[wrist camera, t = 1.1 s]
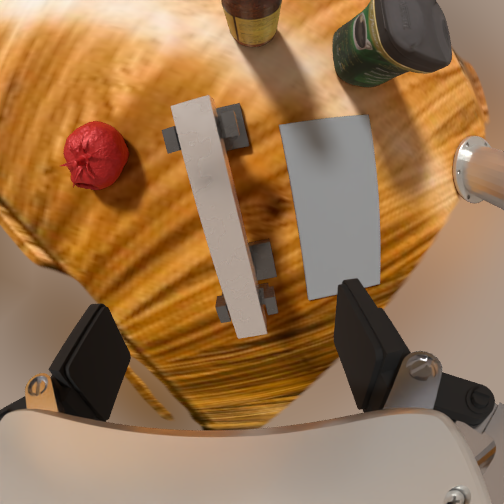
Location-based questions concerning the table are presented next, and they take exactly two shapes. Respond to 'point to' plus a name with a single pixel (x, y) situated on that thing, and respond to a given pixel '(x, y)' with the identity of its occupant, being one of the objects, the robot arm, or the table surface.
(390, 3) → the coffee jar
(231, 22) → the sauce bottle
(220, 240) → the hang bar
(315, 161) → the mat
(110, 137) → the pomegranate
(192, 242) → the table surface
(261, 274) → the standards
